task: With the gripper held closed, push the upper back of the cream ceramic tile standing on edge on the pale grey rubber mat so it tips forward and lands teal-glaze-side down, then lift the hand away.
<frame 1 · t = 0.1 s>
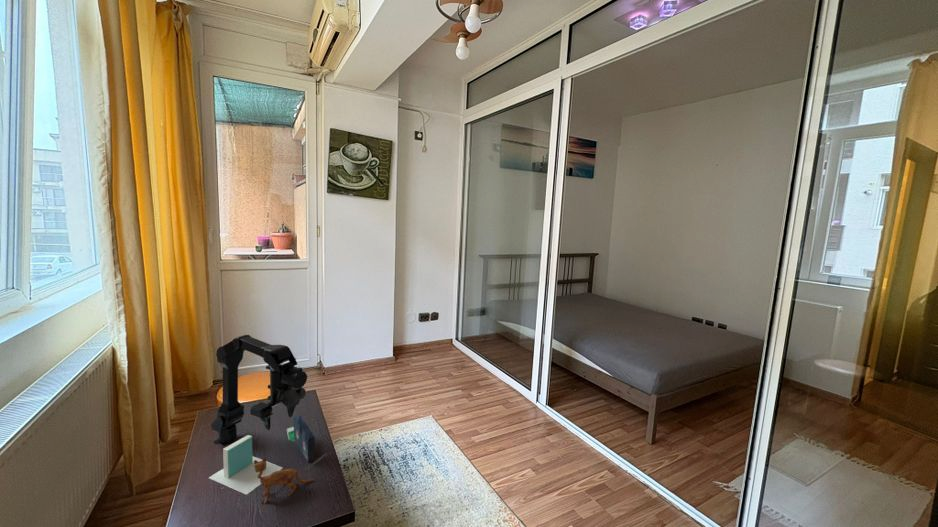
hand: (279, 423, 131), 15 cm above the table, tool pointing down, fingers open, 9 cm apart
smartphone: (298, 437, 148), on the table
cat figurine: (285, 491, 118), on the table
tile: (238, 469, 126), point 1 cm above the table, touching mat
vhs cassette tape: (303, 451, 139), on the table
mat: (246, 474, 125), on the table
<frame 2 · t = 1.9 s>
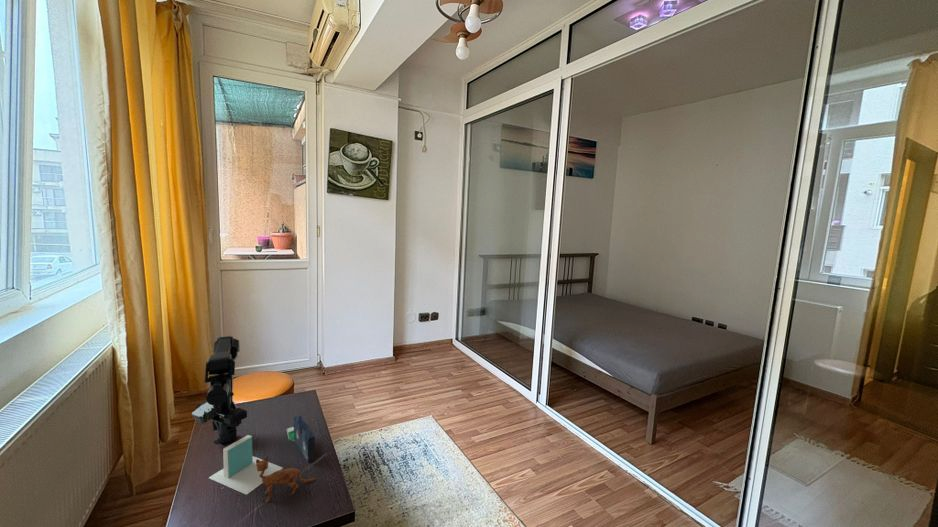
hand: (222, 433, 128), 12 cm above the table, tool pointing down, fingers closed
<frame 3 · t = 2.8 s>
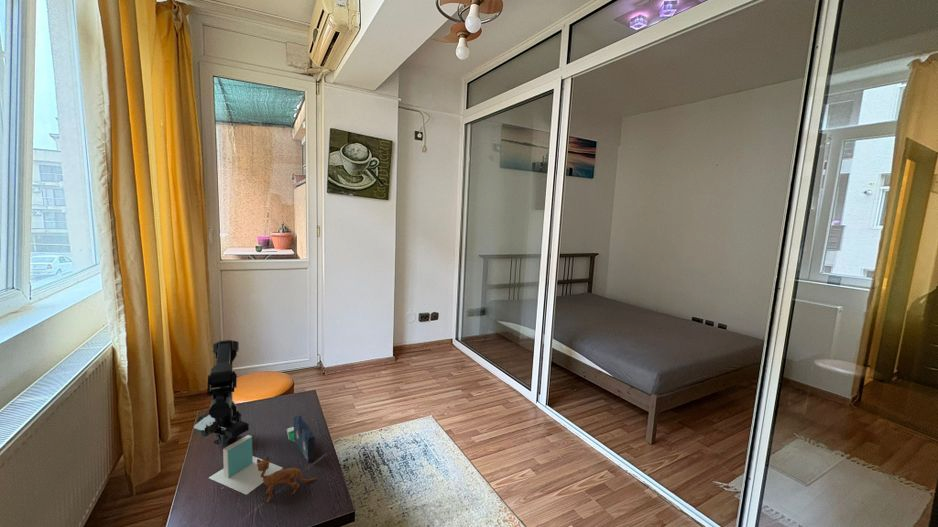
hand: (223, 446, 128), 7 cm above the table, tool pointing down, fingers closed
nothing on the table moved.
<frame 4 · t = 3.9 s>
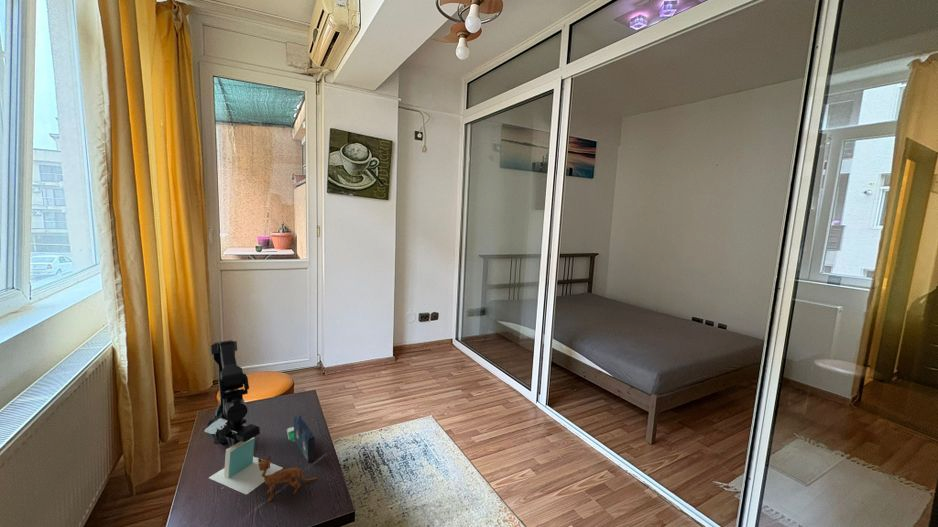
hand: (234, 450, 126), 7 cm above the table, tool pointing down, fingers closed
tile: (238, 468, 126), point 1 cm above the table, tilted 8°, touching mat
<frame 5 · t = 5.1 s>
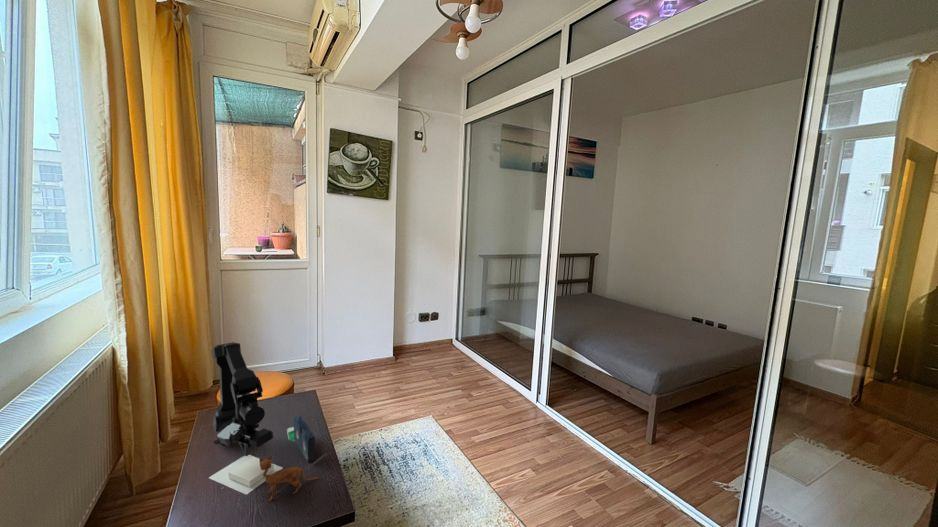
hand: (246, 455, 124), 7 cm above the table, tool pointing down, fingers closed
tile: (241, 466, 126), point 2 cm above the table, tilted 90°, touching mat
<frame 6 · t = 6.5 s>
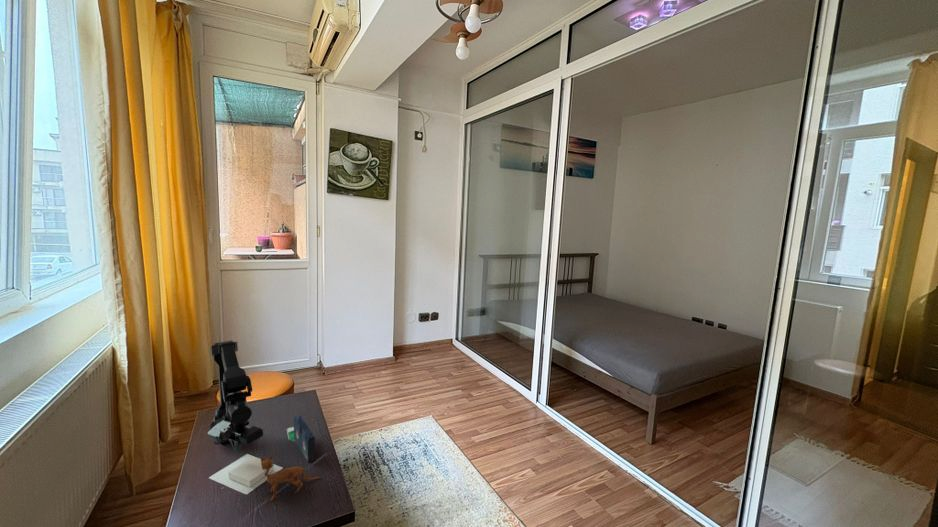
hand: (237, 452, 126), 7 cm above the table, tool pointing down, fingers closed
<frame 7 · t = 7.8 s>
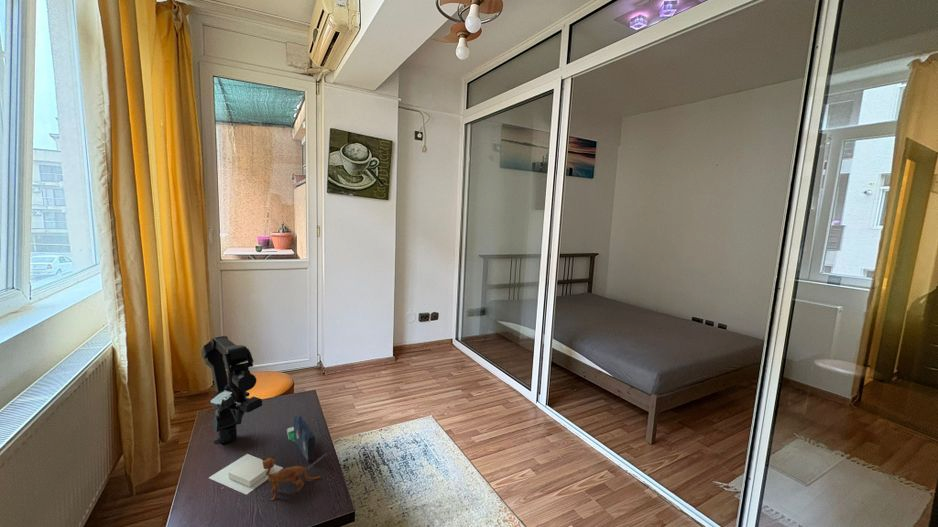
hand: (238, 421, 133), 13 cm above the table, tool pointing down, fingers closed
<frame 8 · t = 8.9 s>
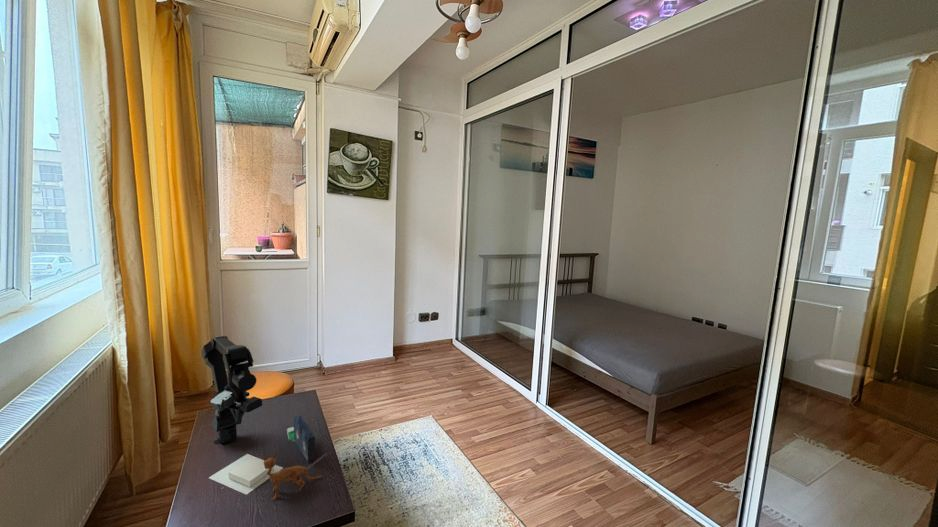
hand: (238, 421, 133), 13 cm above the table, tool pointing down, fingers closed
at the end: tile tilted 90°; tile inside the target area (2.2 cm from its centre), point 1.9 cm above the table; tile touching mat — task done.
